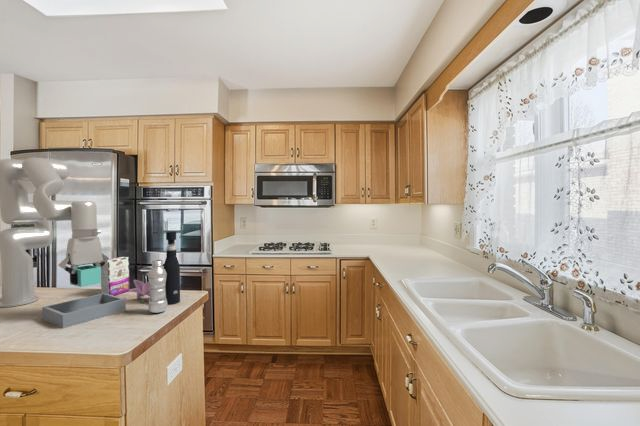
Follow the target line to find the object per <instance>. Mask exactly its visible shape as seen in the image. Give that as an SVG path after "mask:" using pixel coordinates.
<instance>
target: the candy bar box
mask: <svg viewBox="0 0 640 426" xmlns="http://www.w3.org/2000/svg"><path fill="white" fill-rule="evenodd" d="M129 258H130V257H129V256H119V257H118V256H117V257H114V258H109V260H108V261H107V262H106V263H105V264H104V265H103V266H102V268H101V283H100V286H101V288H100V289H101V291H100V292H101V293H100V294H102V293H106V294H110V295H113V296H118V295H121V294H123V293H127V292H129V291H128V290H130V289H131V288H130V287H131V285H130V283H131V282H130V261H129V260H130V259H129Z"/></svg>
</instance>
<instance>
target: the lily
mask: <svg viewBox="0 0 640 426" xmlns="http://www.w3.org/2000/svg"><path fill="white" fill-rule="evenodd" d="M133 284H134V286H135V288H134V287H133V288H130V290H128V291H127V292H130V293H136V298H137V299H140V298H144V296H149V297H150V286H149V281H147V282H144V281H141V280H138V279H133ZM142 304H144V299H142Z"/></svg>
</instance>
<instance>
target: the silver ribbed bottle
mask: <svg viewBox="0 0 640 426" xmlns="http://www.w3.org/2000/svg"><path fill="white" fill-rule="evenodd" d="M163 267H164V261H163V259H155V260H151V269H150V270H149V271H148V273H147V278H148V282H149V286H150V296H149V298H148V299H149V301H148V305H147V308H148V311H149V313H151V314H158V313H159V314H160V313H164V312H165V311H166V310H167V309H168V303H167V299H166V291H165V289H166V288H165V287H166V277H167V273H166V270H165V269H164V268H163Z"/></svg>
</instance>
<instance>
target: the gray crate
mask: <svg viewBox="0 0 640 426" xmlns="http://www.w3.org/2000/svg"><path fill="white" fill-rule="evenodd" d="M126 307H127V306H126V298H124V297H120V296H118V295H116V296H113V295H110V294H106V293H102V294H101V293H98V294H94V295H90V296H84V297H81V298H77V299H72V300H68V301H64V302H63V301H62V302H59V303H54V304H49V305H46V306H42V320H43V321H46V322H48V323H50V324H52V325H54V326H56V327H59V328H61V329H66V328H69V327H72V326H76V325H80V324H83V323H86V322H91V321H93V320H96V319H100V318H104V317H107V316H110V315H114V314H116V313H117V314H118V313H120V312H125V311H126Z"/></svg>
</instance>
